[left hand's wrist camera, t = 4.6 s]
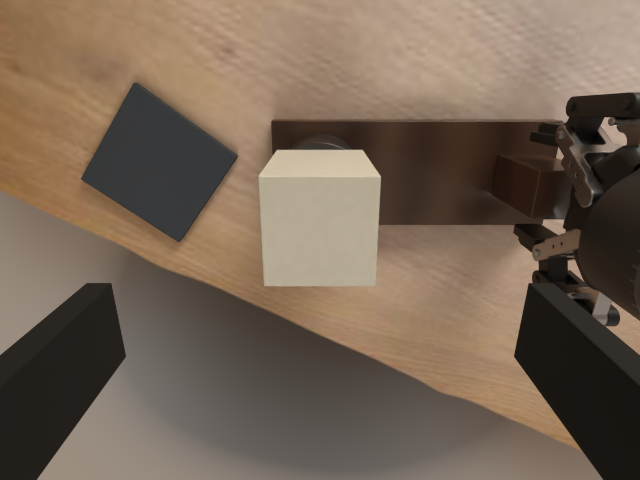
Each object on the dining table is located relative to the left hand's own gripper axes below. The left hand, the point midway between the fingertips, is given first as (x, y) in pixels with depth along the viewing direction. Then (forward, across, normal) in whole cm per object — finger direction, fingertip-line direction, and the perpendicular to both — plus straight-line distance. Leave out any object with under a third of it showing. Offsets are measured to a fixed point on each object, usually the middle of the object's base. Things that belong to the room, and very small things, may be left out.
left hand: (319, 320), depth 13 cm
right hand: (+20, +17, 0) cm, 27 cm away
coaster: (+25, -14, 0) cm, 28 cm away
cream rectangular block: (+17, 0, 0) cm, 17 cm away
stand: (+25, +8, 0) cm, 26 cm away
